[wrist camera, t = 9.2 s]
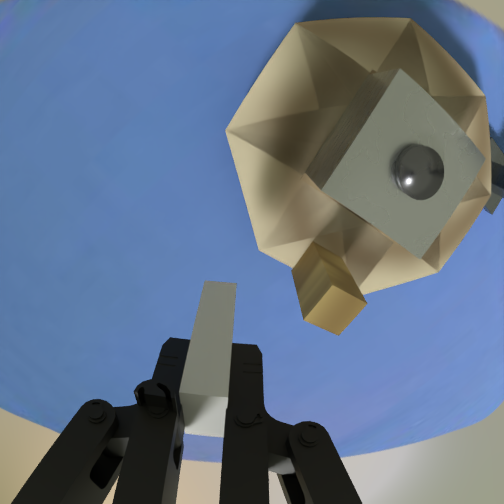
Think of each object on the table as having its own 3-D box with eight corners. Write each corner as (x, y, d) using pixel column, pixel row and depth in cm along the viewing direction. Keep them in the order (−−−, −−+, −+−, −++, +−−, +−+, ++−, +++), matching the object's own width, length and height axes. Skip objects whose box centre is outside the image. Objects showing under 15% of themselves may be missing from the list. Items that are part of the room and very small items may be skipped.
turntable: (186, 202, 19) (158, 249, 13) (330, -22, 12) (367, -69, 6) (385, 309, 24) (418, 368, 17) (502, 139, 17) (563, 159, 10)
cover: (304, 172, 17) (324, 194, 12) (367, 74, 14) (406, 66, 10) (391, 231, 18) (424, 265, 14) (447, 146, 16) (492, 161, 11)
